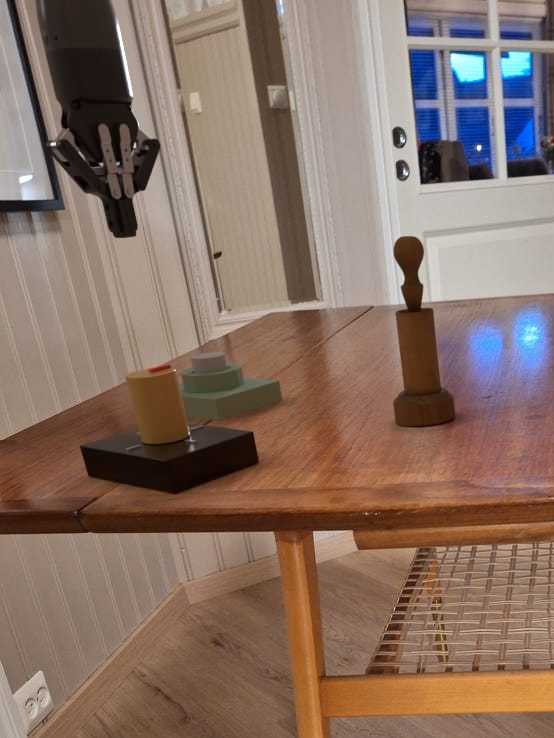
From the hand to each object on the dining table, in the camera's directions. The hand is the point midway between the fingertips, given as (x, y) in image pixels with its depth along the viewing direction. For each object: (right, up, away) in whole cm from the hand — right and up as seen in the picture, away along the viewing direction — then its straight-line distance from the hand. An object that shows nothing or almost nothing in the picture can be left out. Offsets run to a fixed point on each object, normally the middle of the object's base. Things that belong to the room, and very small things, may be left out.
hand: (125, 237), depth 96 cm
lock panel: (+10, -28, -13) cm, 32 cm away
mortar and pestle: (+33, -21, -2) cm, 39 cm away
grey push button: (+7, -12, +8) cm, 17 cm away
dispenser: (+7, -16, +10) cm, 20 cm away
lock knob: (+10, -25, -14) cm, 31 cm away
